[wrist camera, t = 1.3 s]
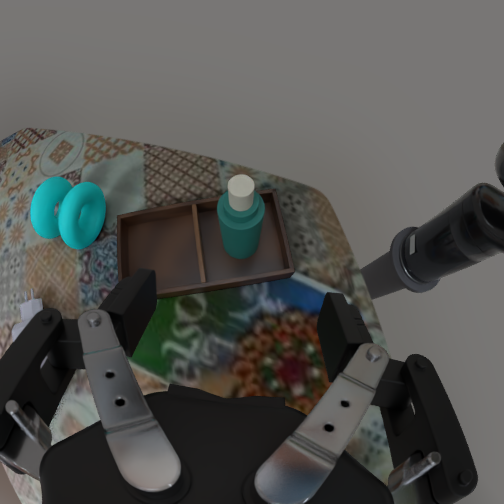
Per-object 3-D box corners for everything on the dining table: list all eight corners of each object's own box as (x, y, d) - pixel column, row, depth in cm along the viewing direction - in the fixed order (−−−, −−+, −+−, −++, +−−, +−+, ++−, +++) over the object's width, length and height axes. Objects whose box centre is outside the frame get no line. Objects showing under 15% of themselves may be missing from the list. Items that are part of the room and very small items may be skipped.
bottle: (255, 223, 40) (262, 159, 25) (261, 256, 39) (274, 206, 24) (220, 228, 40) (210, 166, 25) (225, 261, 38) (216, 214, 24)
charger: (55, 285, 37) (75, 376, 33) (21, 299, 35) (38, 383, 31) (38, 279, 32) (58, 379, 28) (4, 294, 31) (21, 385, 27)
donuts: (93, 259, 38) (59, 237, 29) (52, 244, 39) (18, 222, 29) (116, 202, 41) (90, 170, 32) (74, 193, 42) (46, 164, 32)
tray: (272, 200, 42) (275, 188, 39) (290, 277, 39) (295, 271, 35) (125, 224, 40) (116, 215, 37) (129, 302, 37) (119, 299, 33)
